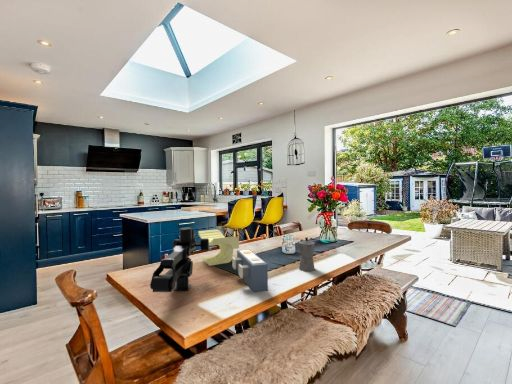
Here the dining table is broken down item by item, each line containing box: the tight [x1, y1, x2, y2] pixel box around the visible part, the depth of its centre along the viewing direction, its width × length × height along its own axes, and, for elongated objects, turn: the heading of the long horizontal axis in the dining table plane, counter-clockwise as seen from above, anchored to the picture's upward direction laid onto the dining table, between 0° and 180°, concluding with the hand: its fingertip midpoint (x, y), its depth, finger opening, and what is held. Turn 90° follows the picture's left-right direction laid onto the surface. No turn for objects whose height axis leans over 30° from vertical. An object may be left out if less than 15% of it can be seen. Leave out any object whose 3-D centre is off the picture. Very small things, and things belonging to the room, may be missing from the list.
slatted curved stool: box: [198, 229, 240, 267], centre depth 170 cm, size 30×16×18 cm, turn 29°
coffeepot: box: [298, 236, 316, 272], centre depth 153 cm, size 15×9×18 cm, turn 12°
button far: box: [231, 256, 242, 270], centre depth 141 cm, size 6×5×5 cm
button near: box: [238, 264, 250, 279], centre depth 127 cm, size 6×5×5 cm
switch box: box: [236, 249, 269, 293], centre depth 135 cm, size 7×30×12 cm, turn 18°
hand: (195, 242), depth 151 cm, fingers open, 9 cm apart
